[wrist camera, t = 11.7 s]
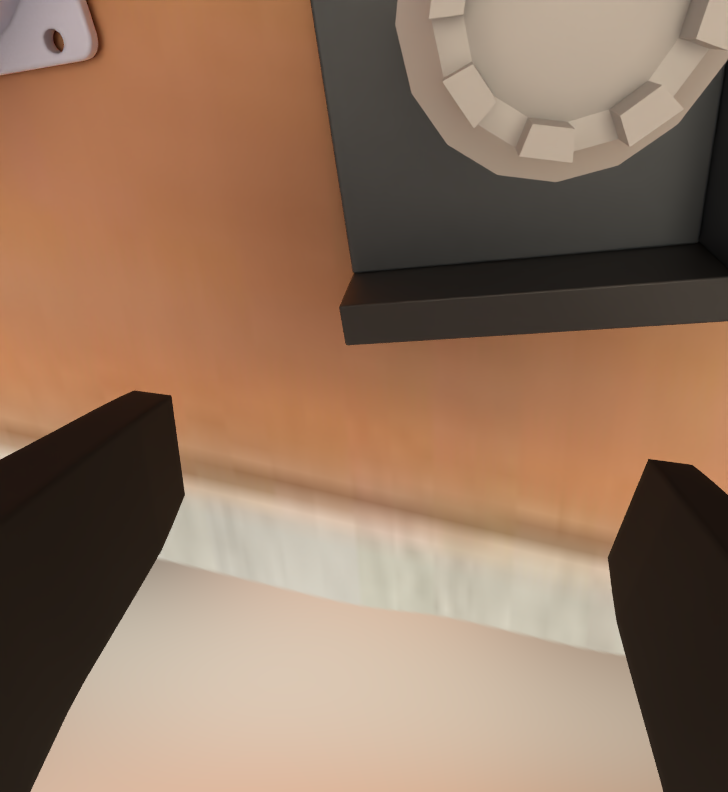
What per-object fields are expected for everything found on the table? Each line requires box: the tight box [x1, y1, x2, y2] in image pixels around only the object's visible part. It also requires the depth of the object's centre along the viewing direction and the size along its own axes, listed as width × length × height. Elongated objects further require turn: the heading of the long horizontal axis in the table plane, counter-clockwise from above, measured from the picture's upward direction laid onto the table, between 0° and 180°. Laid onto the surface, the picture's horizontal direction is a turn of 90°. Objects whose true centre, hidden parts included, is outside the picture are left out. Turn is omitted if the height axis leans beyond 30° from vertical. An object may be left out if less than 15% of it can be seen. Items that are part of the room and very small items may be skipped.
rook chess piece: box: [395, 0, 728, 182], centre depth 8 cm, size 4×4×8 cm
